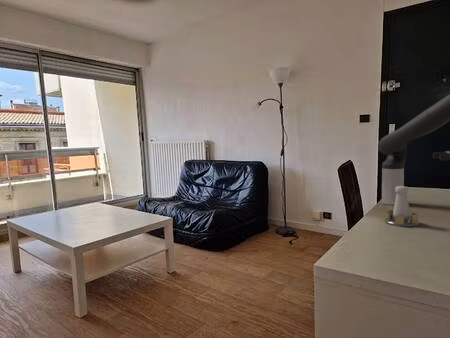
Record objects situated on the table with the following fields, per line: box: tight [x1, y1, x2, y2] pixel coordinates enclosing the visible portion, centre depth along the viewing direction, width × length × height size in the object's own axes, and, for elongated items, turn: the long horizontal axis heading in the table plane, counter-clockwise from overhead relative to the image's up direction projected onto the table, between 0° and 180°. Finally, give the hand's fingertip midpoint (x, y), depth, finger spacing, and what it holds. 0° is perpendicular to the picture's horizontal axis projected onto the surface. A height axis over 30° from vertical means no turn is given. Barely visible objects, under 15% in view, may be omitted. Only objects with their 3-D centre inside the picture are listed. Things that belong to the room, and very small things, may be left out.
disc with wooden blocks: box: [384, 209, 420, 228], centre depth 112 cm, size 11×11×4 cm
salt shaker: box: [392, 186, 412, 222], centre depth 112 cm, size 6×6×13 cm
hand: (436, 156), depth 107 cm, fingers open, 8 cm apart
